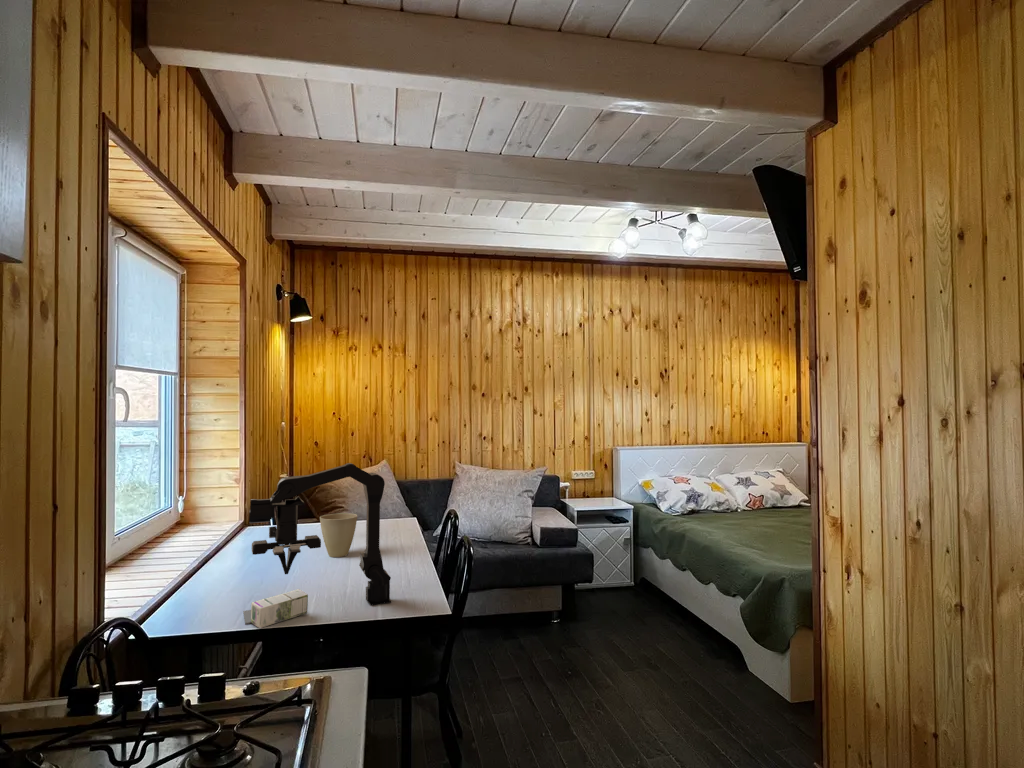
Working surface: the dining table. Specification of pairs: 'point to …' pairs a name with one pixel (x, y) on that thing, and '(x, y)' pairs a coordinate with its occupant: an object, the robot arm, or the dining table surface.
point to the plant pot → (338, 533)
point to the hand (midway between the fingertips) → (286, 574)
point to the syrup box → (279, 608)
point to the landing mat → (248, 616)
